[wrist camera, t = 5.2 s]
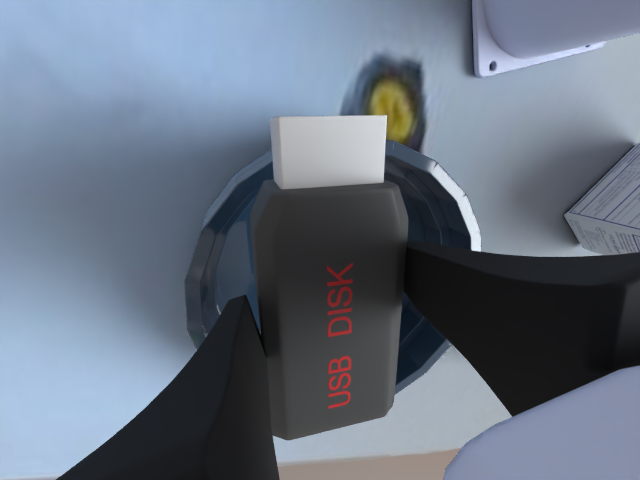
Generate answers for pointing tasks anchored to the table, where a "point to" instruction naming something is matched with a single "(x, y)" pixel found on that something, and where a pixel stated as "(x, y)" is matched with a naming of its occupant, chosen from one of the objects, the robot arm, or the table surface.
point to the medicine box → (611, 210)
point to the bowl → (237, 260)
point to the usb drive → (329, 273)
